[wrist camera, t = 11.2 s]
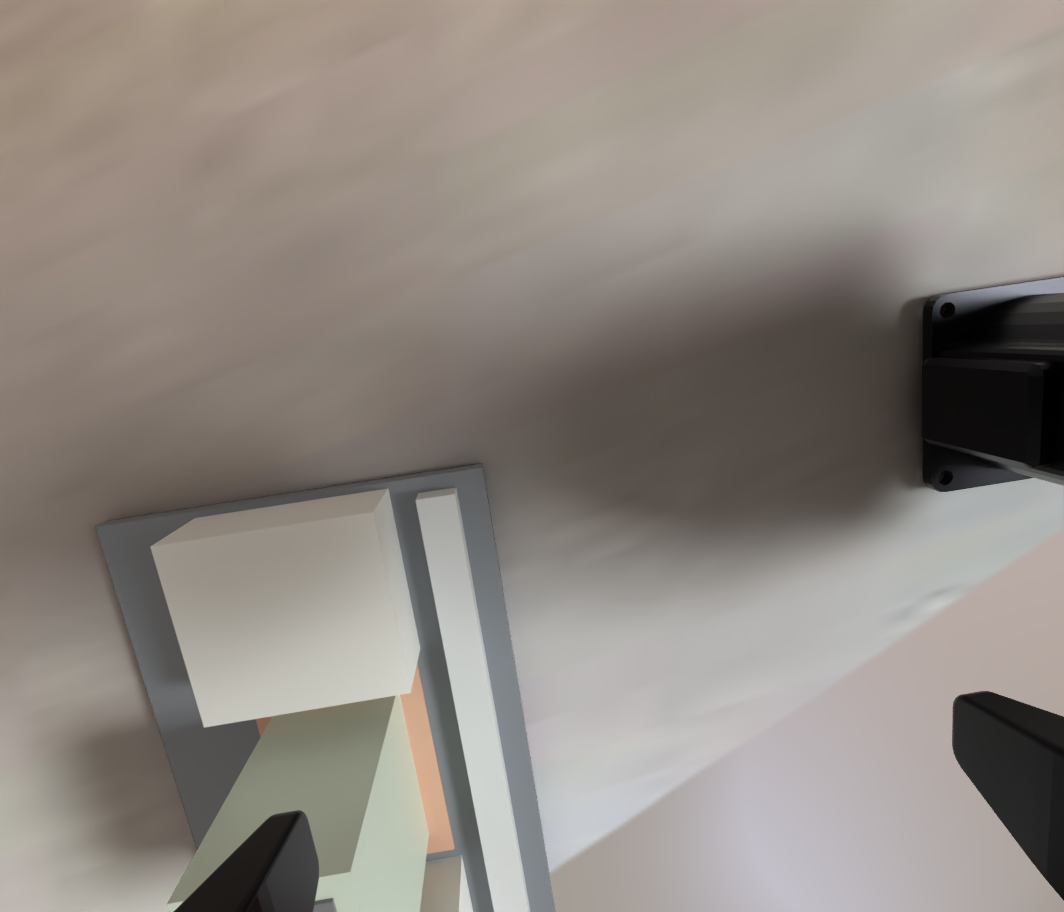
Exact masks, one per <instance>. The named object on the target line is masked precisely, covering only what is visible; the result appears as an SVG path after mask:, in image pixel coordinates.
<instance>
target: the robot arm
mask: <svg viewBox="0 0 1064 912" xmlns="http://www.w3.org/2000/svg"><path fill="white" fill-rule="evenodd" d="M943 304H944V305H945V308H946V311H945V314H944V316H943V317H942V316H941V315H940V308H941V306H942V305H943ZM922 437H923V480H924V483H925V484H926V486H927V487H929V488H931V489H934V490H937V491H940V492H948V491H954V490H960V489H966V488H973V487H979V486H985V485H991V484H998V483H1004V482H1010V481H1017V480H1023V479H1029V478H1037V479H1041V480H1045V481H1048V482H1052V483H1056V484H1059V485H1063V486H1064V277H1057V278H1050V279H1043V280H1037V281H1030V282H1023V283H1016V284H1009V285H1002V286H996V287H989V288H982V289H975V290H968V291H961V292H954V293H948V294H941V295H937V296H934V297H932V298H931V299H930V300H928V301H927V303H926V305H925V307H924V312H923V367H922ZM943 471H944V476H943V478H942V479H941V481H939V480H938V478H939V475H940V474H941V472H943ZM952 746H953V751H954V754H955V757H956V759H957V761H958V763H959V765H960V766H961V768H962V769H963V771H964V772H965V773H966V775H967V776H968V777H969V778H970V780H971V781H972V783H973V784H974V785H975V786H976V788H977V789H978V791H979V792H980V793H981V795H982V796H983V797H984V799H985V800H986V801H987V803H988V804H989V805H990V807H991V808H992V809H993V810H994V812H995V813H996V814H997V816H998V817H999V819H1000V820H1001V821H1002V823H1003V824H1004V825H1005V827H1006V828H1007V829H1008V831H1009V832H1010V833H1011V835H1012V836H1013V837H1014V839H1015V840H1016V841H1017V842H1018V844H1019V845H1020V847H1021V848H1022V849H1023V851H1024V852H1025V853H1026V855H1027V856H1028V857H1029V858H1030V860H1031V861H1032V862H1033V864H1034V865H1035V866H1036V867H1037V869H1038V870H1039V871H1040V873H1041V874H1042V875H1043V876H1044V878H1045V879H1046V880H1047V881H1048V882H1049V884H1050V885H1051V886H1052V887H1053V888H1054V890H1055V891H1056V892H1057V893H1058V894H1059V895H1060V897H1061V898H1062V899H1063V900H1064V717H1063V716H1059V715H1057V714H1054V713H1051V712H1048V711H1045V710H1042V709H1039V708H1036V707H1033V706H1030V705H1028V704H1024V703H1021V702H1019V701H1016V700H1013V699H1010V698H1007V697H1004V696H1001V695H998V694H996V693H993V692H989V691H979V692H974V693H968V694H962V695H959V696H958V697H956V698H955V700H954V702H953V731H952ZM318 881H319V860H318V856H317V852H316V848H315V844H314V841H313V837H312V833H311V829H310V825H309V822H308V818H307V816H306V814H305V813H304V812H303V811H301V810H295V811H289V812H283V813H277V814H274V815H272V816H270V817H269V818H268V819H266V820H265V821H264V822H263V823H262V824H261V825H260V826H259V827H258V828H257V829H256V830H255V831H254V832H253V833H252V834H251V835H250V836H249V837H248V838H247V839H246V840H245V841H244V842H243V843H242V844H241V845H240V846H239V847H238V848H237V849H236V850H235V851H234V852H233V853H232V854H231V855H230V856H229V857H228V858H227V859H226V860H225V861H224V862H223V863H222V864H221V865H220V866H219V867H218V868H217V869H216V870H215V871H214V872H213V873H212V874H211V875H210V876H209V877H208V878H207V879H206V880H205V881H204V882H203V883H202V884H201V885H200V886H199V887H198V888H197V889H196V890H195V891H194V892H193V893H192V894H191V895H190V896H189V897H188V898H187V899H186V900H185V901H184V902H183V903H182V904H181V905H180V906H179V907H178V908H177V909H176V910H175V911H174V912H313V911H314V905H315V899H316V893H317V887H318Z"/></svg>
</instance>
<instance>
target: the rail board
mask: <svg viewBox="0 0 1064 912" xmlns="http://www.w3.org/2000/svg"><path fill="white" fill-rule="evenodd" d="M95 528H96V532H97V535H98V538H99V541H100V544H101V547H102V551H103V554H104V557H105V560H106V563H107V566H108V570H109V573H110V576H111V579H112V582H113V585H114V589H115V592H116V595H117V598H118V601H119V604H120V608H121V611H122V614H123V617H124V620H125V623H126V627H127V630H128V633H129V636H130V639H131V642H132V645H133V649H134V652H135V655H136V658H137V661H138V664H139V668H140V671H141V674H142V677H143V680H144V683H145V687H146V690H147V693H148V696H149V699H150V702H151V706H152V709H153V712H154V715H155V718H156V721H157V725H158V728H159V731H160V734H161V737H162V740H163V744H164V747H165V750H166V753H167V756H168V759H169V762H170V766H171V769H172V772H173V775H174V778H175V781H176V785H177V788H178V791H179V794H180V797H181V800H182V804H183V807H184V810H185V813H186V816H187V819H188V823H189V826H190V829H191V832H192V835H193V838H194V842H195V845H196V848H197V850H198V848H199V846H200V844H201V843H202V841H203V839H204V837H205V835H206V834H207V832H208V830H209V828H210V827H211V825H212V823H213V821H214V819H215V818H216V816H217V814H218V812H219V811H220V809H221V807H222V805H223V803H224V802H225V800H226V798H227V796H228V795H229V793H230V791H231V789H232V787H233V786H234V784H235V782H236V780H237V779H238V777H239V775H240V773H241V771H242V770H243V768H244V766H245V764H246V763H247V761H248V759H249V757H250V755H251V754H252V752H253V750H254V748H255V747H256V745H257V743H258V741H259V739H260V738H261V736H262V734H263V732H264V731H265V729H266V727H267V725H268V724H269V722H270V720H271V718H272V716H276V715H282V714H288V713H294V712H300V711H306V710H312V709H318V708H324V707H330V706H336V705H342V704H348V703H354V702H360V701H366V700H372V699H378V698H384V697H390V696H396V695H400V698H401V703H402V707H403V712H404V717H405V722H406V727H407V731H408V736H409V741H410V746H411V751H412V755H413V760H414V765H415V770H416V774H417V779H418V784H419V789H420V794H421V798H422V803H423V808H424V813H425V818H426V822H427V827H428V832H429V839H428V847H427V855H426V864H425V872H424V880H423V888H422V897H421V905H420V912H555V906H554V900H553V894H552V888H551V882H550V876H549V869H548V863H547V857H546V851H545V845H544V839H543V833H542V827H541V820H540V814H539V808H538V802H537V796H536V790H535V784H534V778H533V771H532V765H531V759H530V753H529V747H528V741H527V735H526V729H525V722H524V716H523V710H522V704H521V698H520V692H519V686H518V680H517V673H516V667H515V661H514V655H513V649H512V643H511V637H510V631H509V624H508V618H507V612H506V606H505V600H504V594H503V588H502V582H501V575H500V569H499V563H498V557H497V551H496V545H495V539H494V533H493V526H492V520H491V514H490V508H489V502H488V496H487V490H486V483H485V477H484V471H483V465H482V464H476V465H469V466H463V467H456V468H450V469H443V470H437V471H430V472H424V473H417V474H411V475H404V476H397V477H391V478H384V479H378V480H371V481H365V482H358V483H352V484H345V485H339V486H332V487H326V488H319V489H312V490H306V491H299V492H293V493H286V494H280V495H273V496H267V497H260V498H254V499H247V500H241V501H234V502H227V503H221V504H214V505H208V506H201V507H195V508H188V509H182V510H175V511H169V512H162V513H155V514H149V515H142V516H136V517H129V518H123V519H116V520H110V521H106V522H104V523H102V524H100V525H98V526H96V527H95Z"/></svg>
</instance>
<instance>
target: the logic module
mask: <svg viewBox="0 0 1064 912" xmlns="http://www.w3.org/2000/svg"><path fill="white" fill-rule="evenodd" d="M295 810H301V811H303V812H304V813H305V814H306V816H307V818H308V822H309V825H310V829H311V833H312V837H313V841H314V844H315V848H316V852H317V856H318V860H319V881H318V887H317V893H316V899H315V905H314V911H313V912H420V905H421V897H422V888H423V880H424V872H425V864H426V855H427V847H428V839H429V832H428V827H427V822H426V818H425V813H424V808H423V803H422V798H421V794H420V789H419V784H418V779H417V774H416V770H415V765H414V760H413V755H412V751H411V746H410V741H409V736H408V731H407V727H406V722H405V717H404V712H403V707H402V703H401V698H400V695H396V696H390V697H384V698H378V699H372V700H366V701H360V702H354V703H348V704H342V705H336V706H330V707H324V708H318V709H312V710H306V711H300V712H294V713H288V714H282V715H276V716H272V718H271V720H270V722H269V724H268V725H267V727H266V729H265V731H264V732H263V734H262V736H261V738H260V739H259V741H258V743H257V745H256V747H255V748H254V750H253V752H252V754H251V755H250V757H249V759H248V761H247V763H246V764H245V766H244V768H243V770H242V771H241V773H240V775H239V777H238V779H237V780H236V782H235V784H234V786H233V787H232V789H231V791H230V793H229V795H228V796H227V798H226V800H225V802H224V803H223V805H222V807H221V809H220V811H219V812H218V814H217V816H216V818H215V819H214V821H213V823H212V825H211V827H210V828H209V830H208V832H207V834H206V835H205V837H204V839H203V841H202V843H201V844H200V846H199V848H198V850H197V851H196V853H195V855H194V857H193V859H192V860H191V862H190V864H189V866H188V867H187V869H186V871H185V873H184V875H183V876H182V878H181V880H180V882H179V883H178V885H177V887H176V889H175V891H174V892H173V894H172V896H171V898H170V899H169V901H168V903H167V906H168V909H169V912H174V911H175V910H176V909H177V908H178V907H179V906H180V905H181V904H182V903H183V902H184V901H185V900H186V899H187V898H188V897H189V896H190V895H191V894H192V893H193V892H194V891H195V890H196V889H197V888H198V887H199V886H200V885H201V884H202V883H203V882H204V881H205V880H206V879H207V878H208V877H209V876H210V875H211V874H212V873H213V872H214V871H215V870H216V869H217V868H218V867H219V866H220V865H221V864H222V863H223V862H224V861H225V860H226V859H227V858H228V857H229V856H230V855H231V854H232V853H233V852H234V851H235V850H236V849H237V848H238V847H239V846H240V845H241V844H242V843H243V842H244V841H245V840H246V839H247V838H248V837H249V836H250V835H251V834H252V833H253V832H254V831H255V830H256V829H257V828H258V827H259V826H260V825H261V824H262V823H263V822H264V821H265V820H266V819H268V818H269V817H270V816H272V815H274V814H277V813H283V812H289V811H295Z"/></svg>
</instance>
